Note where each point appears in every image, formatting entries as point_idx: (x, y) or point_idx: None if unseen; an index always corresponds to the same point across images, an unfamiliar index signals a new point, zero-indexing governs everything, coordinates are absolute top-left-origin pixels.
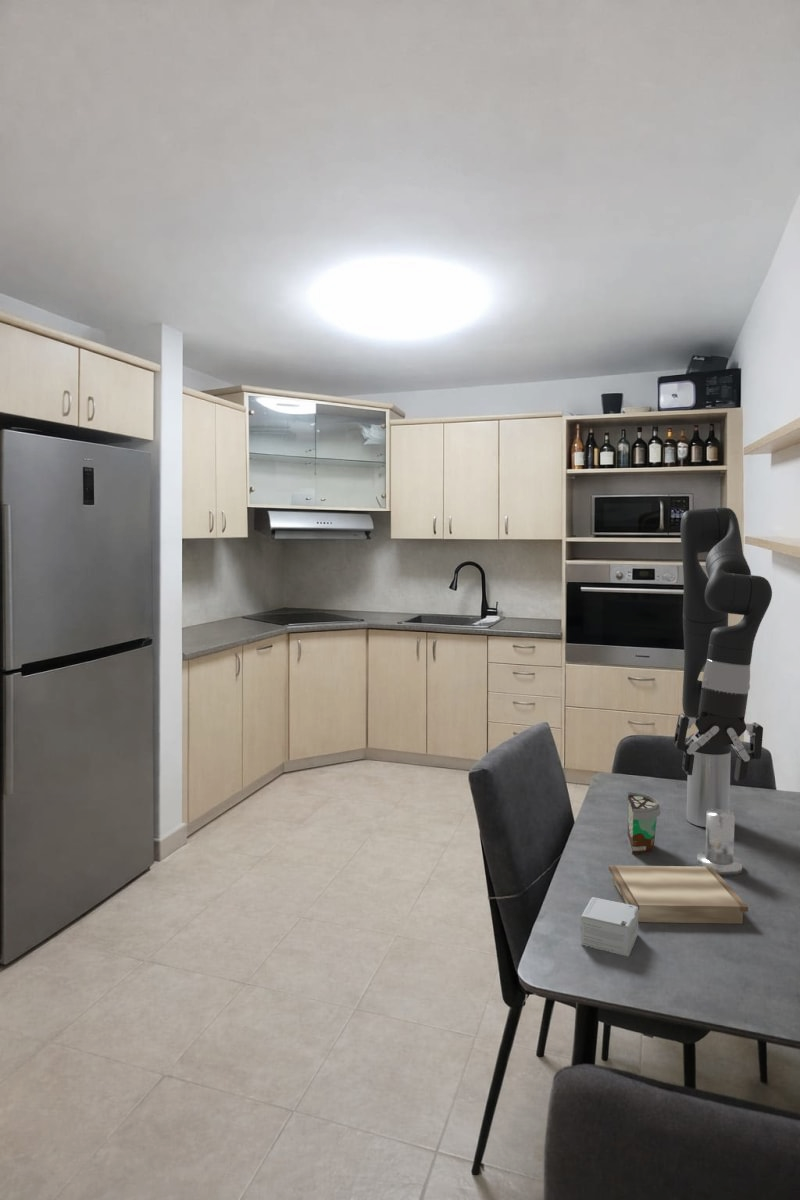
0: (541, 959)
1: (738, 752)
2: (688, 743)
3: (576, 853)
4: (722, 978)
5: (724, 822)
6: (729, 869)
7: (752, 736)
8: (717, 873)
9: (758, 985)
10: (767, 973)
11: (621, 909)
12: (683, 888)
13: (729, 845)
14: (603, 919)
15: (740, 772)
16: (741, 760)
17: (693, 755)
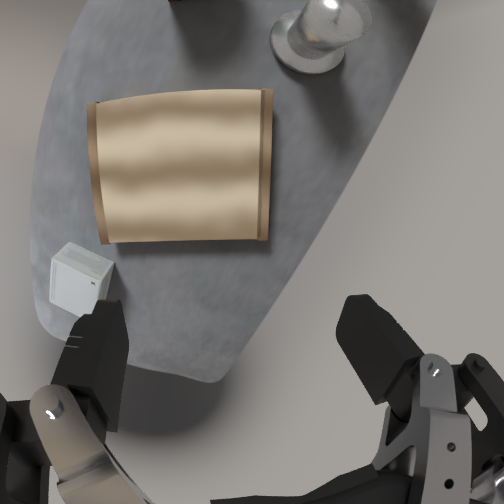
0: (41, 304)
1: (382, 443)
2: (55, 448)
3: (81, 22)
4: (188, 333)
5: (337, 37)
6: (312, 73)
7: (479, 473)
8: (271, 118)
9: (219, 341)
10: (236, 325)
11: (83, 290)
12: (186, 182)
13: (330, 51)
14: (69, 309)
15: (356, 363)
16: (386, 398)
17: (111, 431)
